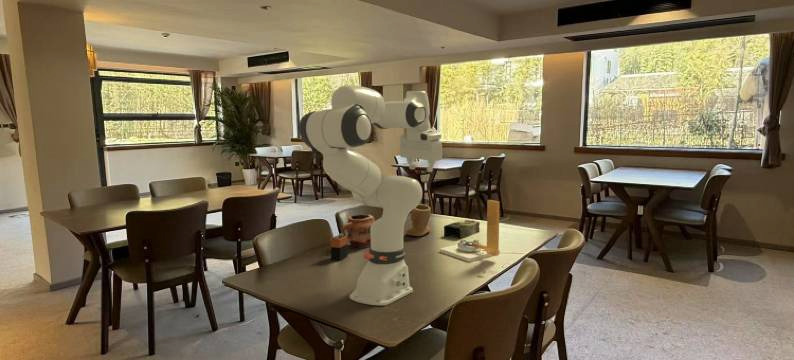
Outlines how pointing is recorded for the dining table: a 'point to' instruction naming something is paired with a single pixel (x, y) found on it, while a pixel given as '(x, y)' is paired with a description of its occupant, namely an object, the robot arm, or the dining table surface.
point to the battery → (339, 247)
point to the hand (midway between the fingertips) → (421, 170)
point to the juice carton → (462, 228)
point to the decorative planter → (359, 230)
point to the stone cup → (420, 220)
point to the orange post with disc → (491, 233)
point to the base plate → (465, 253)
